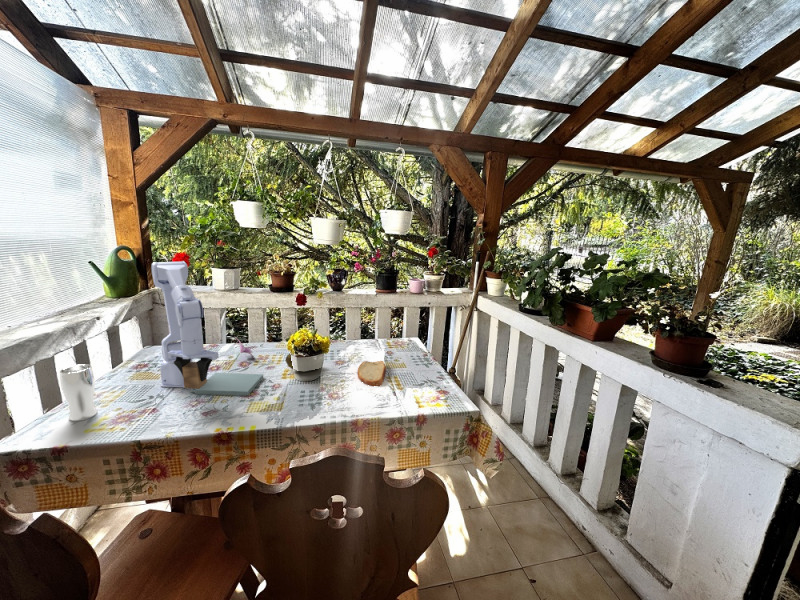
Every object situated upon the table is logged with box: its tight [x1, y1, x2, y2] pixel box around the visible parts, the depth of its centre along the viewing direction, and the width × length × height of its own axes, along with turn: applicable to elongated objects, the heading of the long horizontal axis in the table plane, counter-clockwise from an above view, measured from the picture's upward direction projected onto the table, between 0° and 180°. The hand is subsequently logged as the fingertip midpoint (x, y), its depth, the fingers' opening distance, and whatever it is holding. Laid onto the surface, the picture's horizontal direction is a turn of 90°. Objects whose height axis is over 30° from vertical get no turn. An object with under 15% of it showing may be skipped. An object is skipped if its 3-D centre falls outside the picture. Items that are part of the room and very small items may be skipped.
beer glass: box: [59, 363, 98, 422], centre depth 98 cm, size 7×7×15 cm
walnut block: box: [182, 361, 208, 390], centre depth 106 cm, size 4×4×7 cm
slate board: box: [193, 372, 264, 396], centre depth 122 cm, size 18×14×2 cm
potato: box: [285, 353, 294, 370], centre depth 136 cm, size 8×13×8 cm, turn 94°
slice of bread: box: [356, 360, 387, 387], centre depth 136 cm, size 18×18×4 cm
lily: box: [234, 336, 255, 360], centre depth 145 cm, size 12×12×10 cm
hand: (195, 379), depth 106 cm, fingers closed on walnut block, 4 cm apart
